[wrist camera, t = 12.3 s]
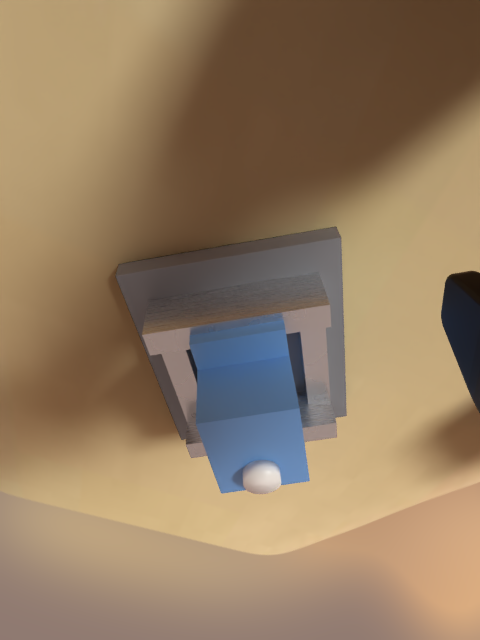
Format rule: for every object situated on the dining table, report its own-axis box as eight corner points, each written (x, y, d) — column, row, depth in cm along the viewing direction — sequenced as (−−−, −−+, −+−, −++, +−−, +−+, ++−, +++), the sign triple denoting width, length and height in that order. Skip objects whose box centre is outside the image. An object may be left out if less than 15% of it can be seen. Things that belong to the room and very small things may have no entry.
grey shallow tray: (336, 226, 20) (355, 268, 17) (342, 403, 28) (357, 451, 25) (118, 264, 21) (104, 310, 18) (182, 426, 28) (179, 476, 26)
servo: (276, 286, 21) (298, 393, 16) (293, 400, 26) (314, 510, 21) (191, 300, 21) (185, 411, 16) (224, 411, 26) (227, 522, 21)
